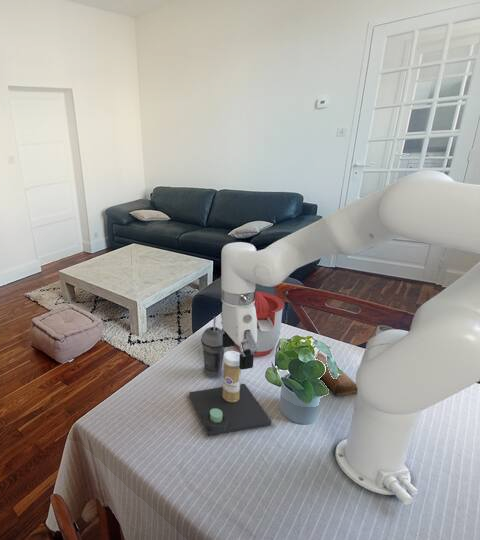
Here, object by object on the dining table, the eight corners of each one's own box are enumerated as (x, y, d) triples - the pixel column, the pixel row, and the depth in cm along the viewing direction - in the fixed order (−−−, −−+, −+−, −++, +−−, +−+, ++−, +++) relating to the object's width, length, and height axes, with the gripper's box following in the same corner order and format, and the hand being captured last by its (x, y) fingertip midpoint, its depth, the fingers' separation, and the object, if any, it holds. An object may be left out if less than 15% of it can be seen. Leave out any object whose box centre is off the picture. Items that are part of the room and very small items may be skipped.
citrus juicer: (238, 365, 105) (241, 308, 97) (224, 335, 121) (225, 284, 114) (289, 363, 104) (296, 305, 96) (268, 332, 120) (273, 281, 113)
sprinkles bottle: (220, 400, 89) (222, 358, 85) (223, 389, 93) (224, 348, 88) (238, 405, 87) (241, 362, 83) (240, 393, 91) (243, 351, 87)
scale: (271, 427, 82) (272, 417, 81) (208, 438, 80) (208, 428, 79) (244, 387, 95) (244, 378, 94) (189, 396, 94) (189, 387, 93)
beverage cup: (223, 365, 105) (224, 308, 98) (227, 380, 98) (230, 321, 91) (199, 365, 106) (199, 309, 99) (202, 380, 99) (202, 321, 92)
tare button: (224, 421, 81) (224, 416, 81) (212, 423, 81) (212, 418, 80) (219, 412, 84) (219, 407, 83) (207, 414, 84) (207, 409, 83)
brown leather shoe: (364, 390, 90) (355, 374, 88) (341, 404, 91) (332, 389, 88) (318, 352, 107) (310, 338, 104) (299, 364, 107) (290, 350, 105)
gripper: (273, 308, 71) (269, 375, 77) (236, 279, 88) (235, 336, 93) (239, 313, 71) (238, 380, 77) (209, 284, 87) (209, 341, 93)
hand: (236, 356), depth 85 cm, fingers open, 9 cm apart
